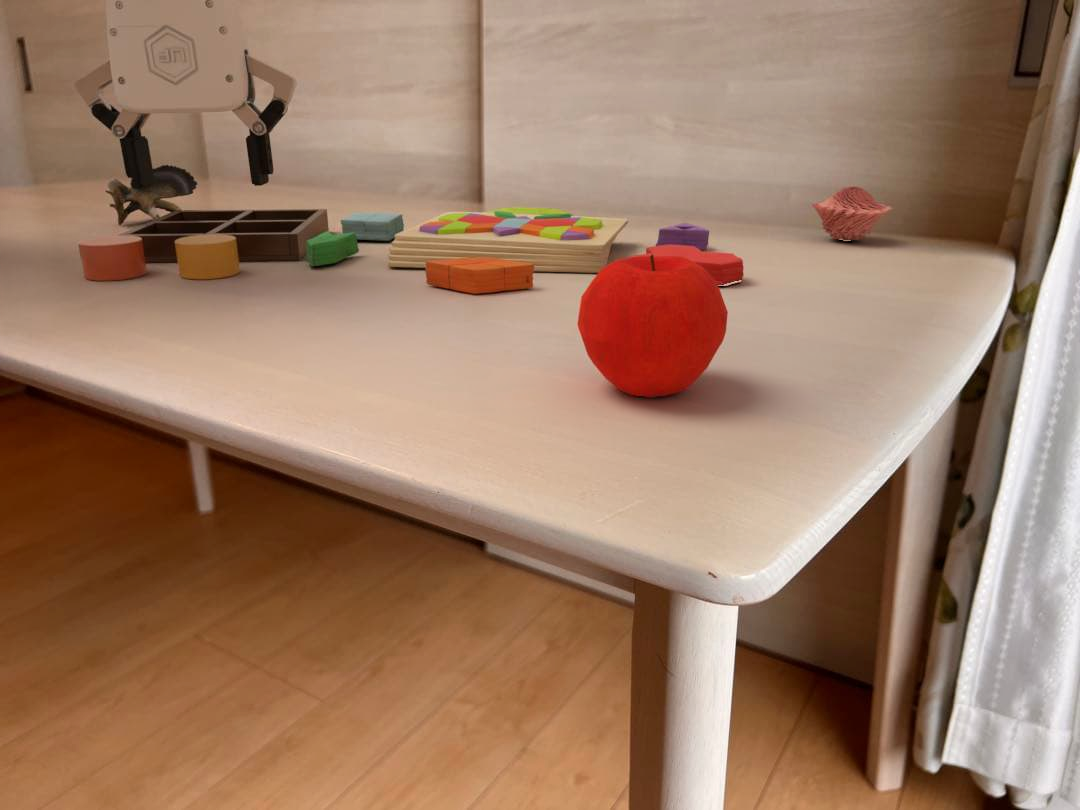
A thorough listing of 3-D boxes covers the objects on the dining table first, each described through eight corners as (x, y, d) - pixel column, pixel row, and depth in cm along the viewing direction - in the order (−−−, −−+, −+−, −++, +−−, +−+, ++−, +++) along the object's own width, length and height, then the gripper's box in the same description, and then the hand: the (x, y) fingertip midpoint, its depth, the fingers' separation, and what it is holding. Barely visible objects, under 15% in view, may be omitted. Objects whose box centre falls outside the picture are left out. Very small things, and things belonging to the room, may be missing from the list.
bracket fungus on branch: (132, 220, 96) (208, 198, 101) (101, 164, 96) (178, 144, 101) (126, 248, 102) (197, 226, 107) (96, 196, 102) (169, 176, 107)
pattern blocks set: (272, 296, 67) (268, 257, 66) (348, 227, 98) (345, 199, 97) (756, 292, 68) (760, 254, 67) (678, 225, 99) (680, 198, 98)
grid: (120, 262, 79) (115, 235, 79) (178, 233, 95) (175, 210, 94) (299, 260, 80) (297, 233, 80) (328, 231, 96) (327, 208, 95)
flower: (882, 236, 93) (890, 183, 91) (891, 249, 85) (900, 192, 83) (806, 233, 94) (812, 181, 92) (809, 245, 87) (815, 190, 85)
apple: (666, 358, 52) (672, 235, 50) (754, 397, 46) (767, 259, 43) (551, 378, 49) (551, 248, 46) (629, 424, 42) (635, 275, 39)
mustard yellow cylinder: (171, 280, 73) (165, 244, 72) (190, 268, 77) (185, 234, 76) (231, 279, 73) (226, 244, 72) (246, 267, 78) (242, 233, 76)
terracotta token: (74, 281, 72) (67, 245, 71) (98, 269, 77) (92, 235, 76) (135, 280, 72) (129, 245, 71) (156, 268, 77) (150, 234, 76)
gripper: (29, -47, 62) (78, 193, 68) (270, -50, 63) (297, 188, 69) (74, -34, 69) (115, 183, 75) (291, -37, 70) (314, 178, 76)
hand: (202, 185), depth 72 cm, fingers open, 9 cm apart
